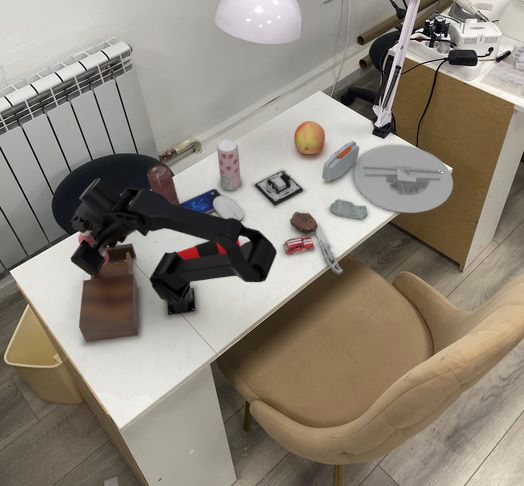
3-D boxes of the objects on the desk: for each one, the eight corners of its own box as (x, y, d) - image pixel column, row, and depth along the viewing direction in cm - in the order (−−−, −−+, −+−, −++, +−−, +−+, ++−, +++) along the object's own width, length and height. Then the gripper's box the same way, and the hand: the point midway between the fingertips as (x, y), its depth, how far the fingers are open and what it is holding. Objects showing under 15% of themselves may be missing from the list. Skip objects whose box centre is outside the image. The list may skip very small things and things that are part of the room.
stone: (298, 215, 151) (296, 207, 149) (323, 220, 148) (321, 212, 146) (288, 232, 147) (286, 224, 145) (313, 238, 144) (311, 229, 142)
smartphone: (228, 203, 154) (179, 225, 148) (228, 205, 154) (179, 227, 149) (215, 187, 158) (167, 208, 153) (215, 189, 159) (168, 210, 153)
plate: (448, 149, 168) (449, 146, 167) (456, 217, 148) (457, 214, 148) (355, 142, 172) (355, 139, 171) (351, 208, 152) (351, 205, 151)
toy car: (314, 249, 143) (316, 242, 140) (285, 256, 141) (285, 249, 139) (310, 238, 145) (311, 231, 142) (281, 245, 143) (281, 238, 141)
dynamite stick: (241, 253, 142) (166, 280, 137) (235, 242, 145) (161, 268, 140) (239, 239, 139) (162, 265, 134) (233, 228, 142) (157, 253, 138)
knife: (321, 219, 148) (310, 221, 147) (343, 271, 136) (332, 273, 135) (320, 223, 149) (310, 225, 148) (342, 275, 137) (331, 277, 136)
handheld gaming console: (351, 157, 167) (353, 136, 161) (359, 161, 165) (361, 141, 160) (320, 182, 160) (322, 161, 154) (328, 187, 158) (330, 166, 152)
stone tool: (332, 198, 154) (327, 214, 152) (332, 196, 152) (327, 212, 151) (369, 208, 152) (364, 224, 150) (369, 205, 150) (365, 221, 148)
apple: (284, 142, 164) (291, 121, 170) (300, 164, 169) (307, 142, 175) (312, 133, 159) (318, 111, 165) (328, 156, 164) (333, 134, 170)
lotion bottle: (108, 267, 129) (96, 235, 121) (86, 269, 129) (73, 238, 121) (109, 250, 133) (98, 218, 125) (88, 253, 133) (75, 221, 125)
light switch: (254, 185, 160) (274, 205, 154) (253, 175, 157) (274, 195, 151) (282, 171, 164) (303, 190, 158) (282, 161, 161) (303, 180, 155)
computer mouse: (230, 228, 148) (229, 221, 146) (208, 206, 154) (207, 199, 152) (247, 217, 151) (247, 210, 149) (225, 196, 156) (225, 189, 154)
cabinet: (90, 296, 134) (83, 280, 130) (138, 289, 135) (133, 273, 131) (86, 342, 125) (78, 327, 121) (138, 335, 126) (132, 319, 122)
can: (159, 219, 151) (148, 180, 142) (157, 204, 156) (145, 165, 146) (181, 213, 152) (171, 174, 143) (178, 198, 157) (168, 160, 147)
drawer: (95, 256, 142) (90, 245, 138) (136, 251, 143) (132, 239, 139) (91, 298, 133) (86, 286, 129) (135, 292, 134) (131, 280, 130)
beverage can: (244, 184, 160) (241, 145, 149) (229, 194, 158) (225, 154, 147) (232, 174, 163) (229, 135, 153) (217, 183, 161) (212, 143, 150)
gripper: (112, 170, 121) (81, 196, 132) (66, 233, 109) (35, 255, 119) (150, 202, 125) (117, 224, 135) (110, 266, 112) (77, 285, 123)
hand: (88, 245), depth 128 cm, fingers closed on lotion bottle, 5 cm apart
